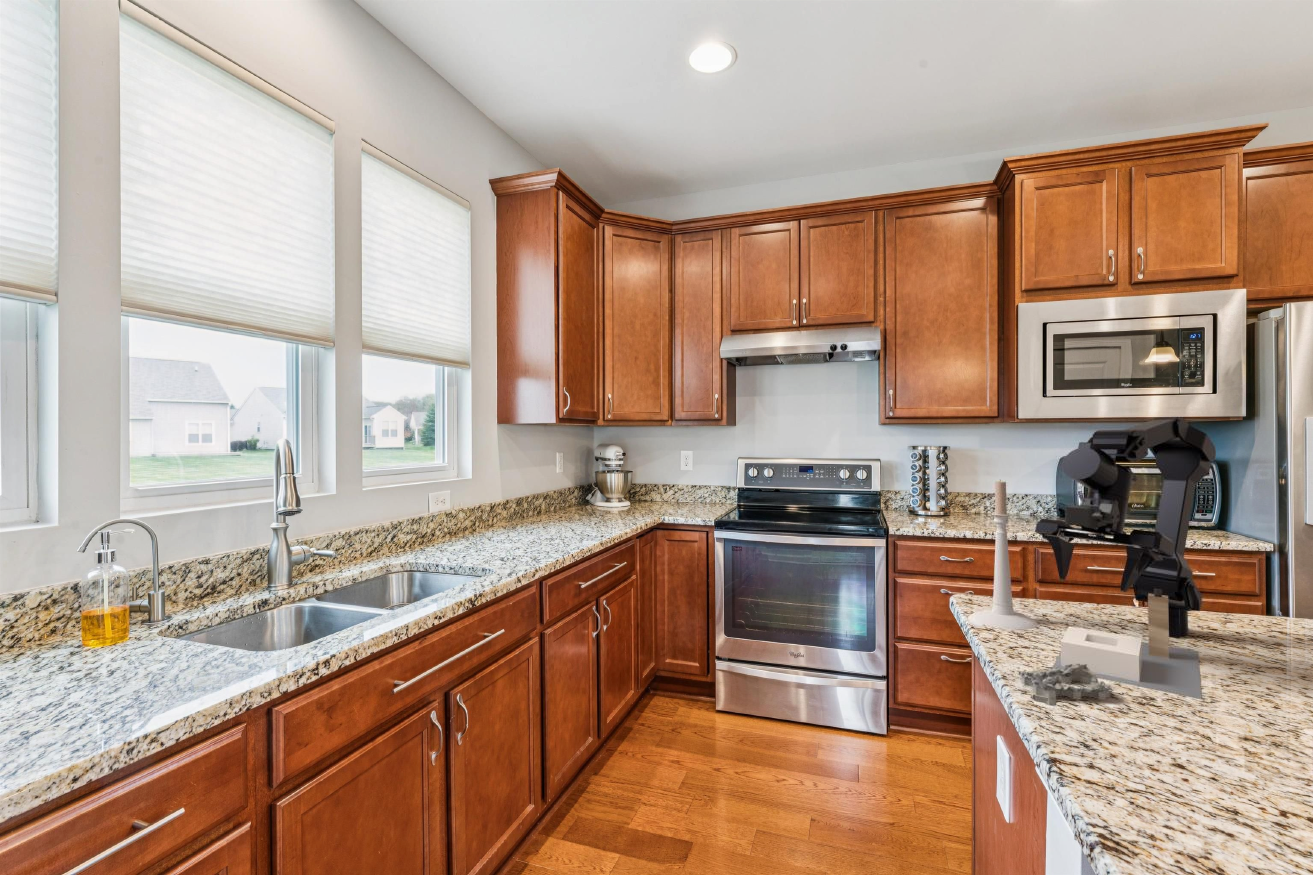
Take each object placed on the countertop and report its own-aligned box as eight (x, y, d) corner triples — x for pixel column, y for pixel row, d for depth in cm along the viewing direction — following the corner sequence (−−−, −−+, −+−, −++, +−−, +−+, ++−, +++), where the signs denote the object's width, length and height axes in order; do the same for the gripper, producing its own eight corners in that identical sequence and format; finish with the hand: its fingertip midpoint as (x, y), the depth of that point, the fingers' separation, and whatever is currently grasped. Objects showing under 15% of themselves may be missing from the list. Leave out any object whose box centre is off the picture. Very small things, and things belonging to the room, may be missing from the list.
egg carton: (1089, 689, 91) (1089, 662, 91) (1119, 711, 84) (1118, 683, 84) (1014, 685, 93) (1014, 659, 93) (1037, 706, 86) (1036, 678, 86)
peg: (1149, 650, 103) (1148, 586, 103) (1169, 653, 101) (1168, 588, 101) (1149, 654, 101) (1147, 589, 101) (1169, 658, 99) (1167, 592, 99)
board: (1071, 635, 114) (1071, 629, 114) (1197, 656, 102) (1197, 651, 102) (1052, 674, 96) (1051, 668, 96) (1201, 705, 84) (1201, 698, 84)
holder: (1069, 648, 104) (1069, 626, 104) (1142, 662, 98) (1142, 638, 98) (1061, 665, 97) (1060, 641, 97) (1139, 681, 90) (1138, 655, 90)
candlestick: (1000, 638, 113) (997, 482, 113) (954, 618, 126) (951, 478, 126) (1056, 632, 116) (1053, 480, 116) (1005, 613, 129) (1002, 476, 129)
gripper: (1027, 479, 107) (1010, 563, 105) (1152, 487, 91) (1135, 586, 88) (1059, 498, 112) (1043, 578, 110) (1182, 508, 96) (1167, 602, 93)
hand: (1091, 585), depth 100 cm, fingers open, 9 cm apart
